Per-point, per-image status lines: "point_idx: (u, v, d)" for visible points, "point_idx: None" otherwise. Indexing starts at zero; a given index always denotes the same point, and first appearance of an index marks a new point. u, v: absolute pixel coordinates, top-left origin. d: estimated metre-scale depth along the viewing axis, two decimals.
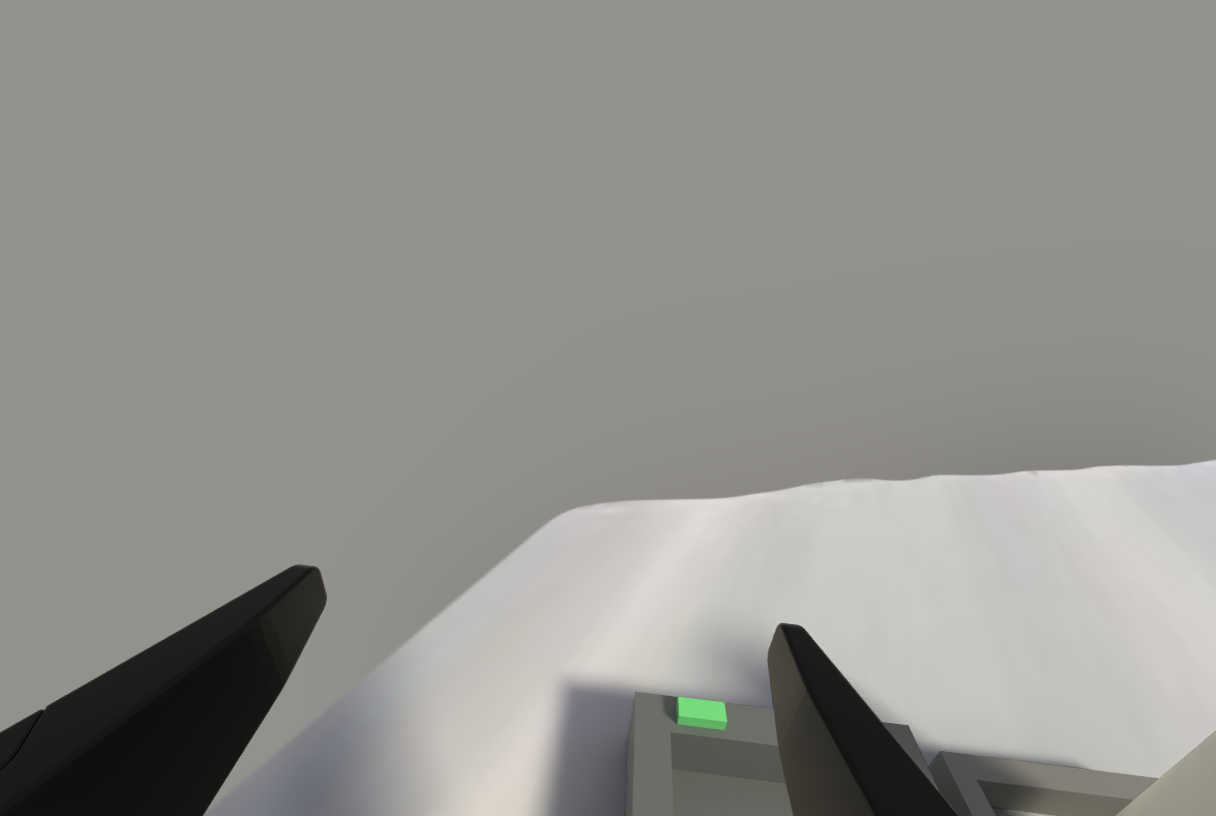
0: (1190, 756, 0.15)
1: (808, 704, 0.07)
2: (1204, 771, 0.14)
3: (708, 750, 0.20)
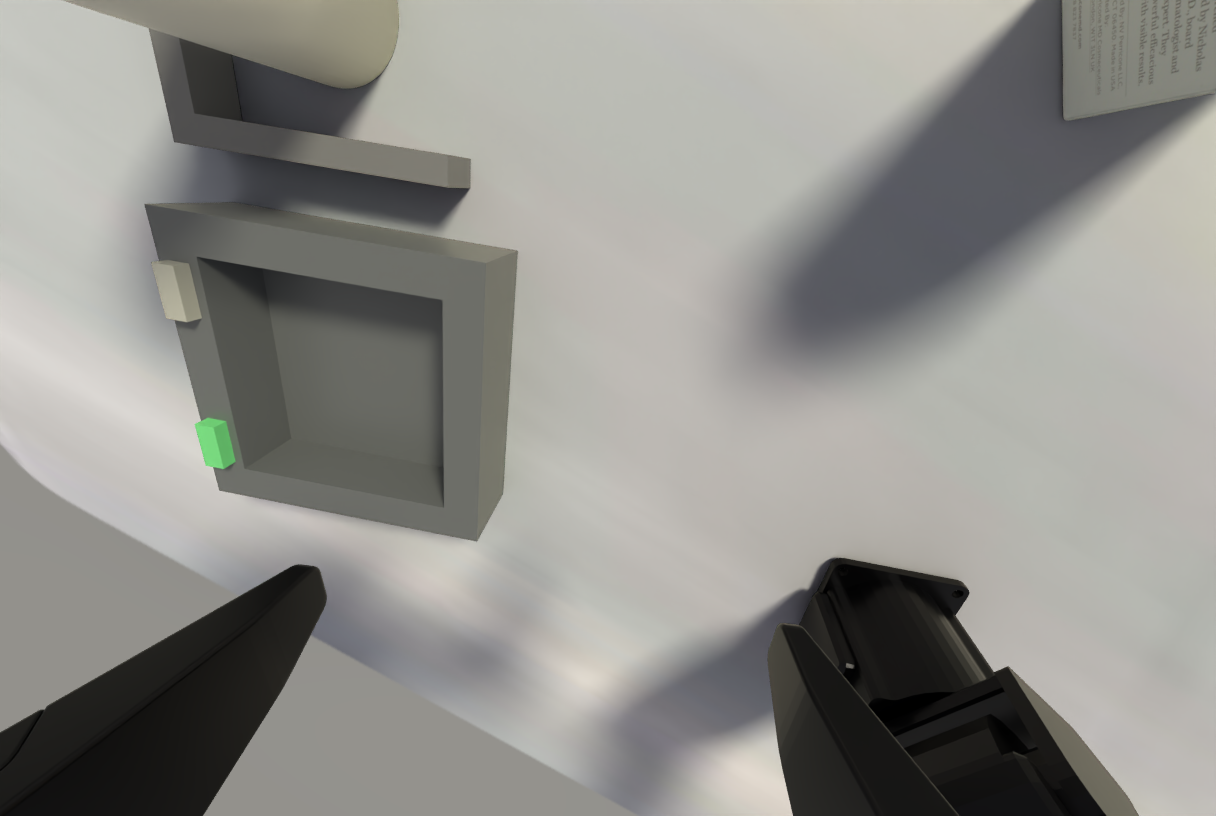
0: None
1: (808, 704, 0.07)
2: None
3: (255, 423, 0.20)
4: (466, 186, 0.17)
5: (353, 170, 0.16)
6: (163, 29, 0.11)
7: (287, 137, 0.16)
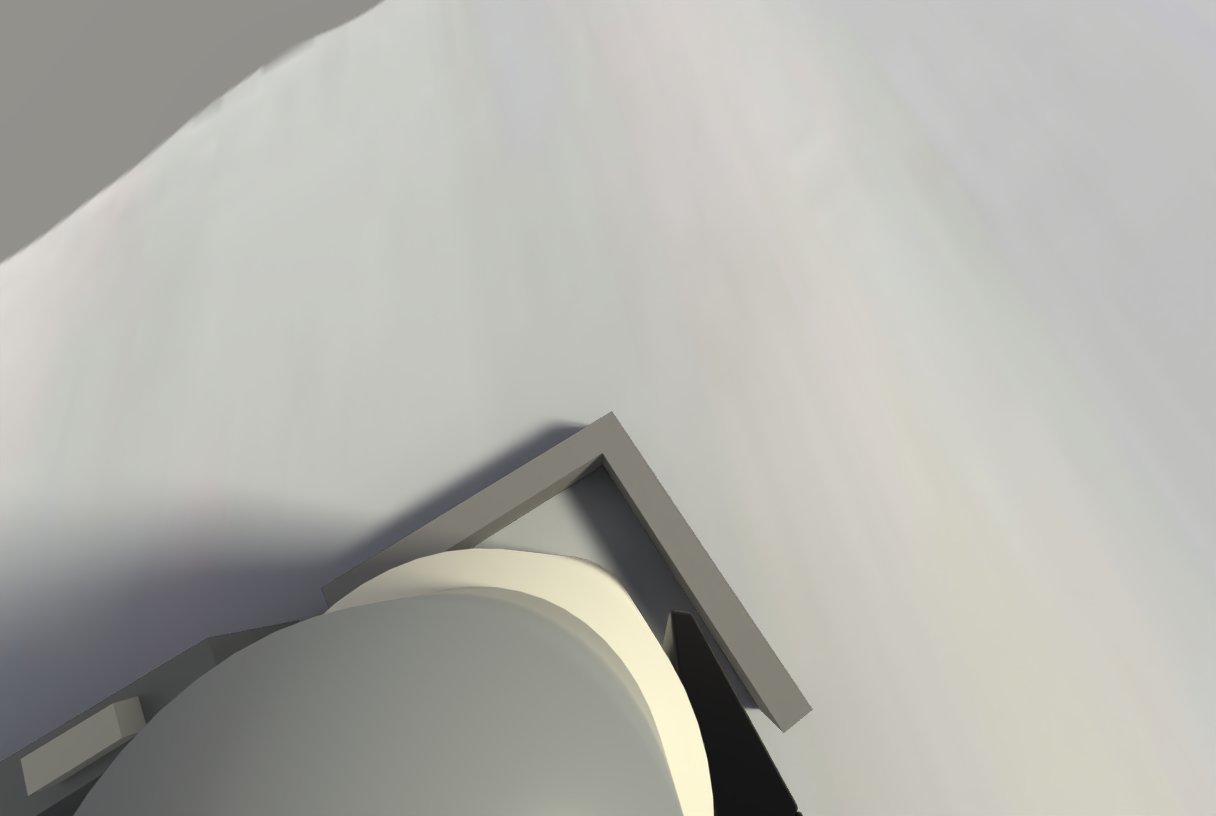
0: None
1: None
2: None
3: None
4: None
5: None
6: None
7: None
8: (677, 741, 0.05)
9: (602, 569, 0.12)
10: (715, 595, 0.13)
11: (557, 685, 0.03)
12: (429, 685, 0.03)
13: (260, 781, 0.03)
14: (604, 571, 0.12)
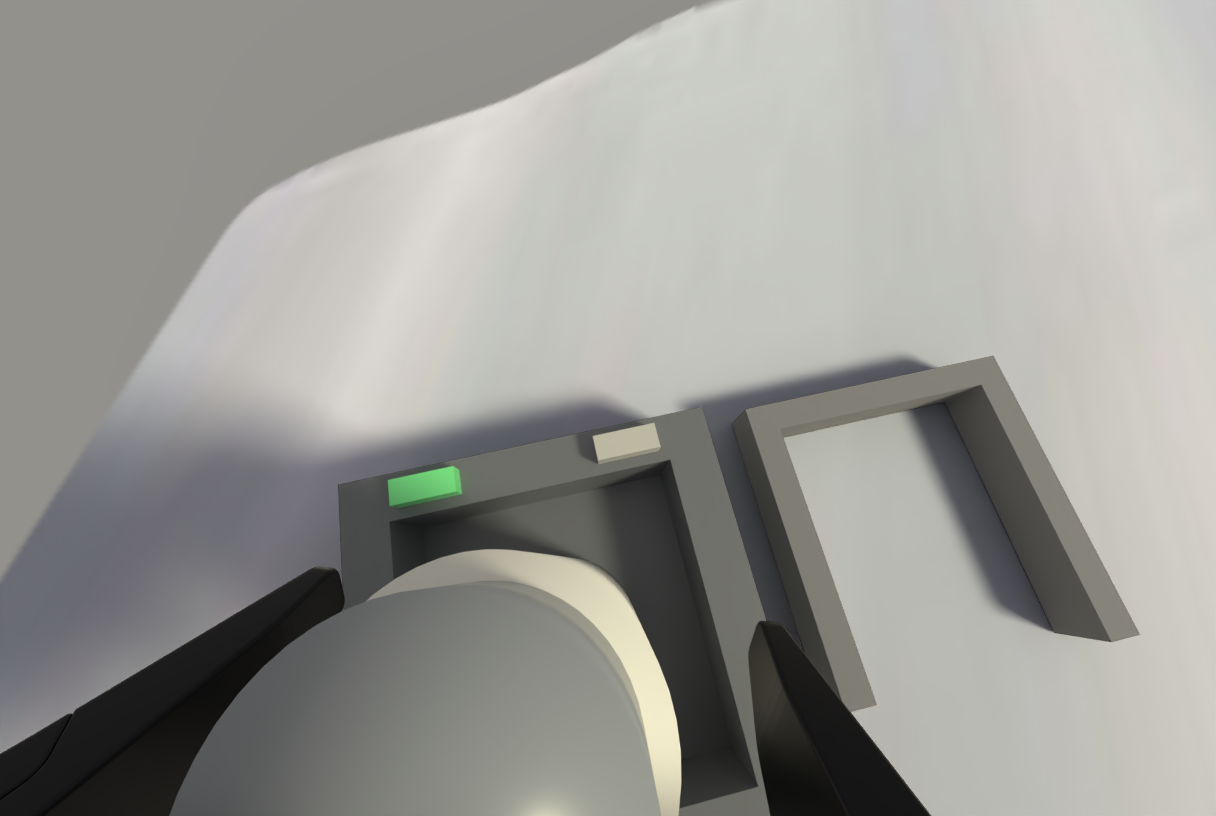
0: None
1: (784, 701, 0.07)
2: None
3: (455, 512, 0.15)
4: None
5: (808, 596, 0.15)
6: None
7: (804, 521, 0.16)
8: (652, 706, 0.06)
9: (600, 569, 0.13)
10: (1065, 522, 0.16)
11: (552, 649, 0.04)
12: (458, 649, 0.04)
13: (338, 716, 0.04)
14: (602, 571, 0.13)
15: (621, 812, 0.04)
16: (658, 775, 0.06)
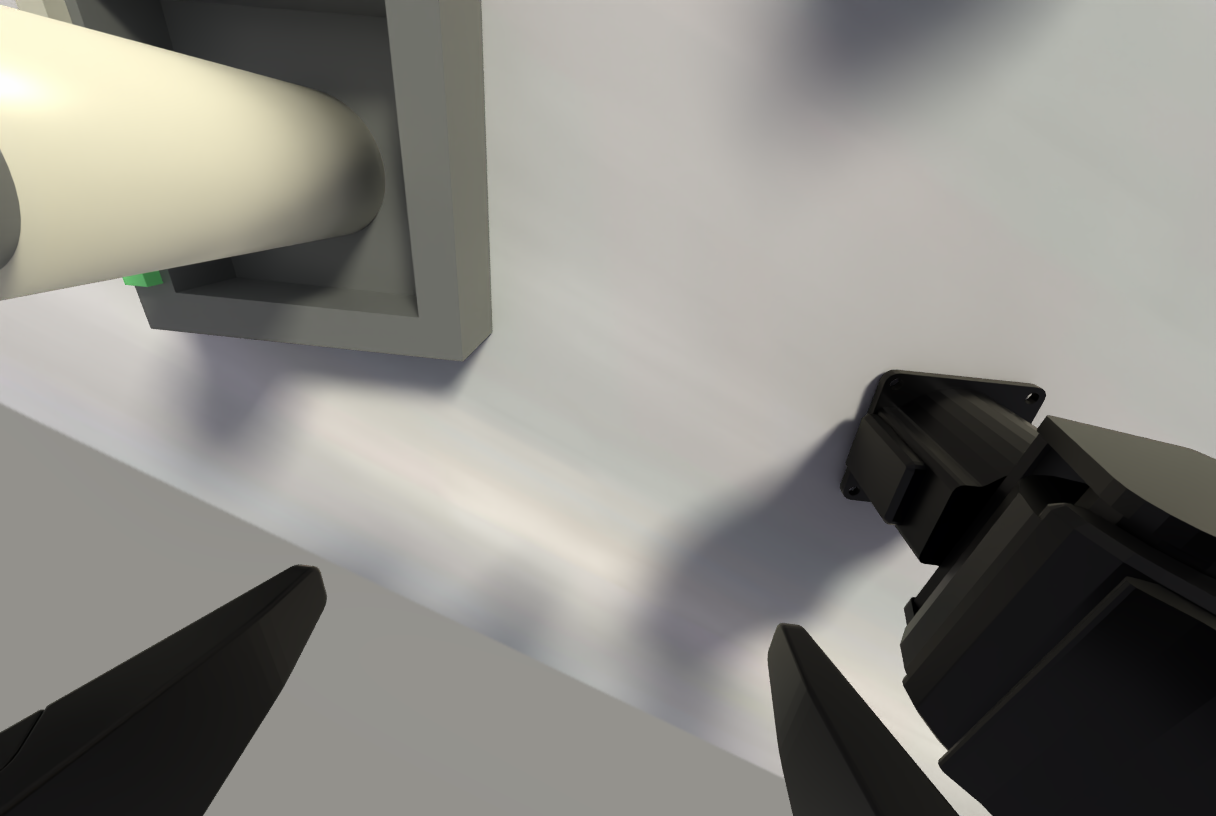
0: None
1: (808, 704, 0.07)
2: None
3: None
4: None
5: None
6: (213, 257, 0.12)
7: None
8: None
9: None
10: None
11: None
12: None
13: None
14: None
15: None
16: None
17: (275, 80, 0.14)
